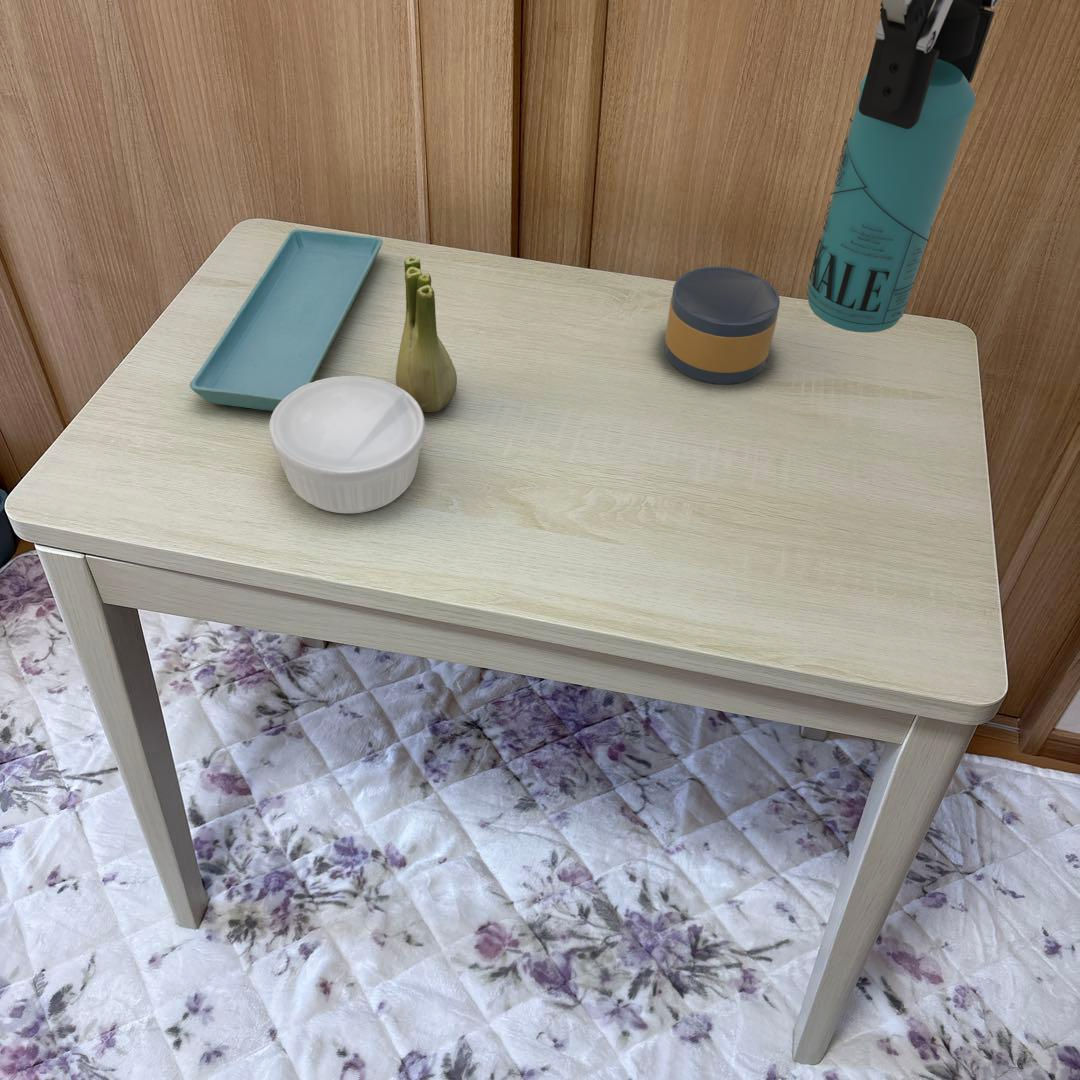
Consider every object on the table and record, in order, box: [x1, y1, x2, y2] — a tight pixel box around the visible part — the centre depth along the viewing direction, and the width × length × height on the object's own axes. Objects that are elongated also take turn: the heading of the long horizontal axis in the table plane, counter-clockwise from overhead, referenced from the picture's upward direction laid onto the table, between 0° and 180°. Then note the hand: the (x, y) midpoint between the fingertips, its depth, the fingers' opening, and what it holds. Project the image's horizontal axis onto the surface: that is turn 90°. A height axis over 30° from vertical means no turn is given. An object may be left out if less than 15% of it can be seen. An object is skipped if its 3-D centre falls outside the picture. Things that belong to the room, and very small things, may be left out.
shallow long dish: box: [189, 228, 384, 412], centre depth 93 cm, size 26×9×2 cm, turn 171°
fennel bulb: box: [395, 255, 458, 413], centre depth 83 cm, size 6×5×12 cm
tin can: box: [664, 265, 781, 385], centre depth 91 cm, size 9×9×6 cm
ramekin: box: [268, 375, 426, 514], centre depth 78 cm, size 11×11×5 cm
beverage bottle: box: [806, 0, 980, 333], centre depth 62 cm, size 6×7×20 cm
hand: (916, 96), depth 58 cm, fingers closed on beverage bottle, 6 cm apart
